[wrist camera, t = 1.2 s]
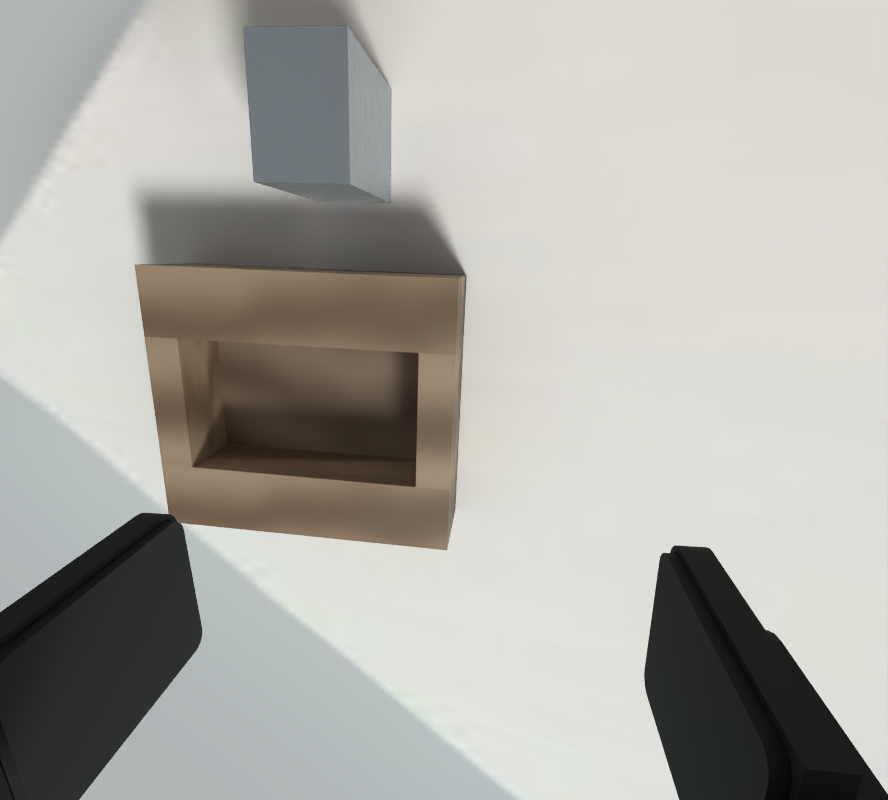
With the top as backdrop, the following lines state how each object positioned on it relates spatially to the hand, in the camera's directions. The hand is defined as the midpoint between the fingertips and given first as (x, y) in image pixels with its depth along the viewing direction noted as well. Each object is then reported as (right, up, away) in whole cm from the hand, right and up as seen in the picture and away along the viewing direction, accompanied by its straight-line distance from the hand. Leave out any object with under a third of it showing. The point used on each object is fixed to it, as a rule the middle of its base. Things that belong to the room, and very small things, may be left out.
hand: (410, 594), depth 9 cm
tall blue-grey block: (-5, +19, +19) cm, 27 cm away
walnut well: (-7, +4, +24) cm, 25 cm away
